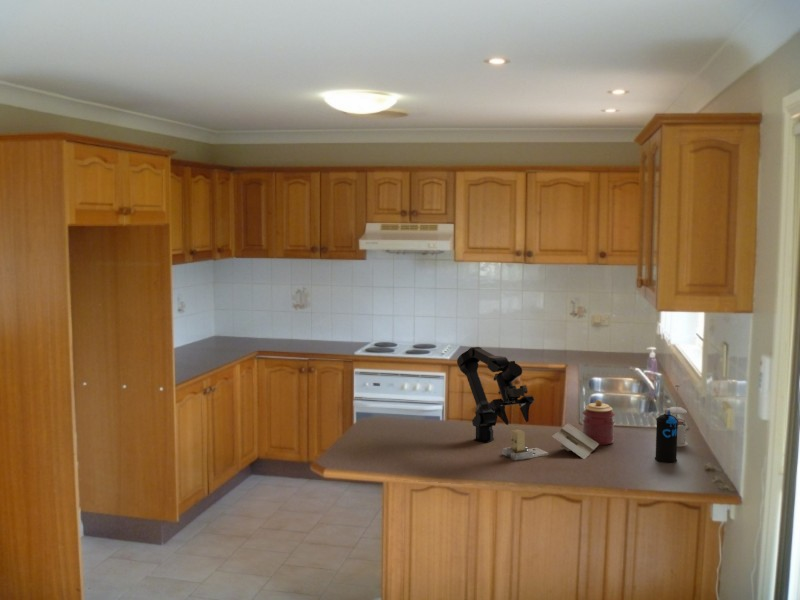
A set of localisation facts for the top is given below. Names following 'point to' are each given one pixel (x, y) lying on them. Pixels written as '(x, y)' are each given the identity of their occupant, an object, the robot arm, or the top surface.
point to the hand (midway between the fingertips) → (517, 423)
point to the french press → (679, 423)
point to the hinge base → (524, 453)
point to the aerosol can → (666, 438)
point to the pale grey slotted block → (575, 441)
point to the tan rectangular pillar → (518, 441)
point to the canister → (599, 422)
